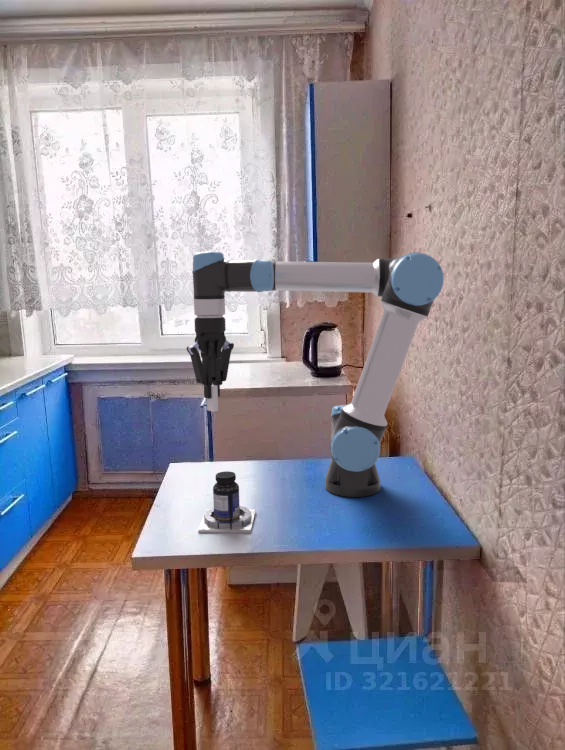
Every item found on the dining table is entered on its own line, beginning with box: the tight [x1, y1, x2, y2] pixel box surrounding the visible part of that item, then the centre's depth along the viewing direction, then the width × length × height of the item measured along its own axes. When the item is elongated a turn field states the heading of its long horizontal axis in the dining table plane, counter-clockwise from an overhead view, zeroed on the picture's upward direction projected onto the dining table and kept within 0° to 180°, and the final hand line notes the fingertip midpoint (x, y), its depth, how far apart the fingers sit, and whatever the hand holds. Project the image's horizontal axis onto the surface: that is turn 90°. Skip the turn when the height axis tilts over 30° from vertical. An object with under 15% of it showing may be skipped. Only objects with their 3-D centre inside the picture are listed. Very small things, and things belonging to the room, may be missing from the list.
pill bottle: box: [212, 470, 240, 521], centre depth 140 cm, size 6×6×11 cm
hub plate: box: [197, 505, 257, 534], centre depth 141 cm, size 12×12×2 cm
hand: (212, 410), depth 149 cm, fingers closed
